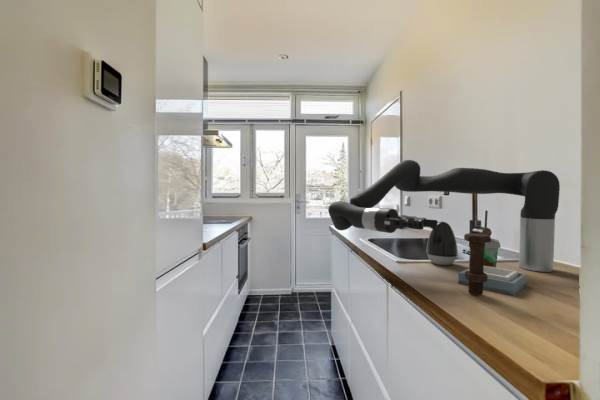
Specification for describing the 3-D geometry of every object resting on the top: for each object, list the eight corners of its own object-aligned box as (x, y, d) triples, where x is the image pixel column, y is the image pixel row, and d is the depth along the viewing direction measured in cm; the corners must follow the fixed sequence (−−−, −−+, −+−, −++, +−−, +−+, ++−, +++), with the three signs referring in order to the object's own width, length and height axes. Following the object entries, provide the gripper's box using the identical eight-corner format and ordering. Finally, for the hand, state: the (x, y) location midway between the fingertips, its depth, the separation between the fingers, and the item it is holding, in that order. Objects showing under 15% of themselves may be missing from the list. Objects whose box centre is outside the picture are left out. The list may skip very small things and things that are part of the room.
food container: (502, 275, 94) (503, 243, 94) (480, 272, 97) (480, 241, 96) (496, 266, 105) (497, 238, 105) (476, 264, 108) (477, 236, 108)
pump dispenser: (422, 259, 115) (423, 219, 114) (451, 261, 113) (453, 220, 112) (429, 266, 105) (430, 222, 104) (461, 267, 103) (462, 223, 102)
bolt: (491, 299, 72) (493, 236, 72) (468, 297, 73) (470, 235, 73) (482, 291, 78) (483, 233, 78) (460, 289, 79) (462, 232, 79)
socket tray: (474, 275, 94) (475, 263, 94) (526, 285, 84) (526, 271, 84) (458, 283, 85) (458, 269, 85) (513, 295, 75) (513, 280, 75)
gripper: (391, 230, 101) (440, 236, 89) (366, 233, 91) (417, 240, 79) (392, 207, 101) (442, 210, 88) (366, 208, 91) (418, 211, 79)
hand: (430, 224), depth 84 cm, fingers open, 8 cm apart
